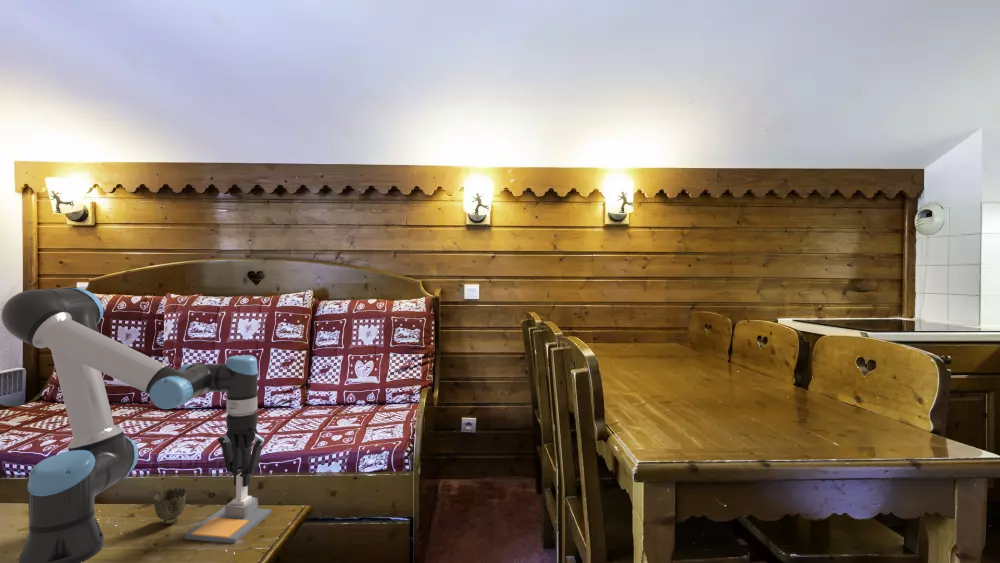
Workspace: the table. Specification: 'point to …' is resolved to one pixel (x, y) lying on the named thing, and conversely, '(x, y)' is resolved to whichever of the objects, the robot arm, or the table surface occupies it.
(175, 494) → the cup
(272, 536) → the table surface
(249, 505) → the plate
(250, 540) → the table surface
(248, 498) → the button
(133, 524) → the table surface
